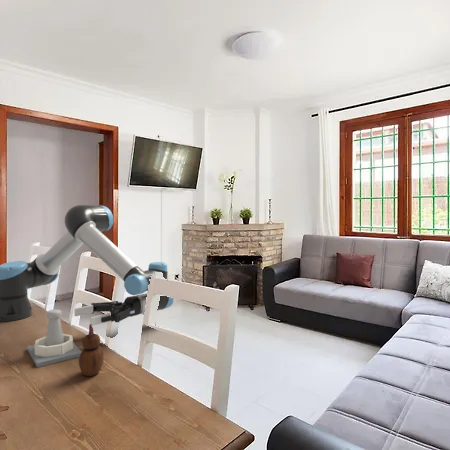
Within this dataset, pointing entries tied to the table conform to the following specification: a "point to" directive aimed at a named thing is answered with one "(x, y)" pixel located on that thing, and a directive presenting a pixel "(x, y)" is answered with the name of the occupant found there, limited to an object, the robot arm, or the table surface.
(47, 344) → the salt shaker
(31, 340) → the table surface
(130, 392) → the table surface
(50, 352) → the ring holder
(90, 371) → the wooden figurine
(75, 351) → the slate board
